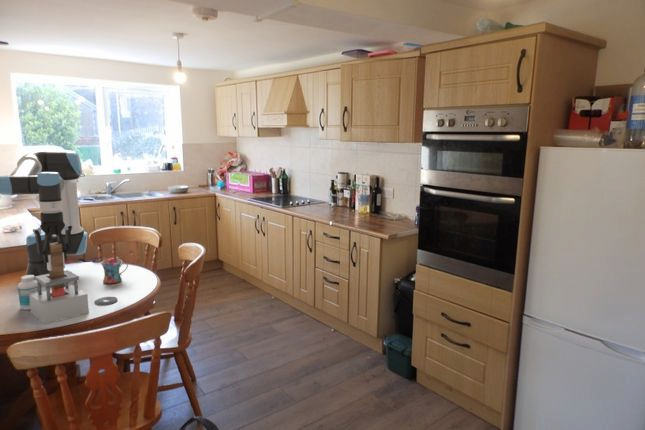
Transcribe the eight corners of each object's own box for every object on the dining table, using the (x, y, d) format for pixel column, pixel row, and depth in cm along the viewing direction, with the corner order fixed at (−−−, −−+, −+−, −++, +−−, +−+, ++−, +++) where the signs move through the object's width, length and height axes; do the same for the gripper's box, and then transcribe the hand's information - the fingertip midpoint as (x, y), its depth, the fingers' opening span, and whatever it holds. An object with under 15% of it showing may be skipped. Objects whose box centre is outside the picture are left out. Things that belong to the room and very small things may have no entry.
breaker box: (30, 312, 174) (27, 276, 172) (73, 302, 187) (70, 268, 184) (44, 324, 164) (41, 285, 162) (88, 312, 176) (86, 276, 174)
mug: (102, 285, 208) (100, 264, 206) (102, 280, 216) (100, 259, 214) (129, 282, 214) (128, 262, 212) (128, 277, 222) (127, 257, 220)
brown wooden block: (50, 287, 173) (46, 243, 170) (61, 284, 176) (57, 242, 173) (54, 289, 171) (50, 245, 168) (65, 286, 174) (61, 243, 171)
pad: (91, 301, 188) (91, 300, 188) (111, 296, 195) (111, 295, 195) (99, 307, 182) (99, 305, 182) (121, 301, 189) (121, 300, 189)
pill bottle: (26, 303, 184) (23, 273, 181) (45, 303, 184) (42, 273, 182) (16, 310, 176) (12, 279, 174) (35, 310, 177) (32, 279, 175)
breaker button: (51, 305, 175) (49, 286, 173) (63, 302, 178) (61, 284, 177) (55, 308, 172) (53, 289, 171) (67, 305, 175) (65, 286, 174)
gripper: (29, 215, 159) (35, 275, 163) (78, 210, 172) (82, 266, 176) (23, 212, 164) (28, 271, 168) (71, 208, 177) (75, 262, 181)
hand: (56, 268), depth 172 cm, fingers closed on brown wooden block, 4 cm apart
